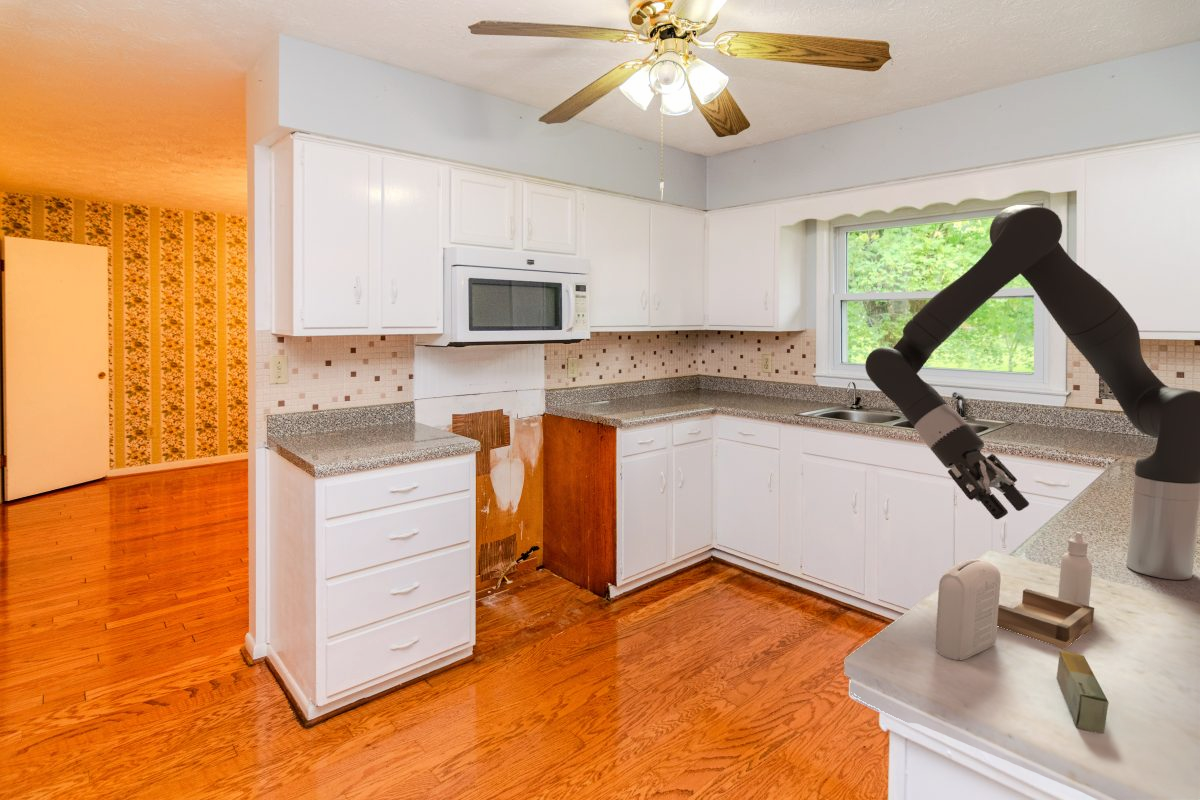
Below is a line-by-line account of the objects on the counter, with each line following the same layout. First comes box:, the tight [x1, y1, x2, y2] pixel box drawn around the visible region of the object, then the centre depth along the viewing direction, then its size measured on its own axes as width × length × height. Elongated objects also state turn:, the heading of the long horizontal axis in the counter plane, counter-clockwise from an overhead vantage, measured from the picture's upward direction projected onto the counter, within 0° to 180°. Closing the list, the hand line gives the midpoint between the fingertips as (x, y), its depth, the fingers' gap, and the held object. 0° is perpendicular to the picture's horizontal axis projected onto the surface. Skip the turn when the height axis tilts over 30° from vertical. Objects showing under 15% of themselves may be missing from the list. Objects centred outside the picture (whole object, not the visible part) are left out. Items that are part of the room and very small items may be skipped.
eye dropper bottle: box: [1057, 531, 1093, 606], centre depth 105 cm, size 4×6×12 cm
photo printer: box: [934, 558, 1002, 661], centre depth 91 cm, size 10×4×12 cm, turn 123°
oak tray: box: [997, 588, 1095, 650], centre depth 99 cm, size 11×9×3 cm
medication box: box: [1056, 650, 1109, 734], centre depth 78 cm, size 12×3×4 cm, turn 155°
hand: (1013, 512), depth 112 cm, fingers open, 8 cm apart
